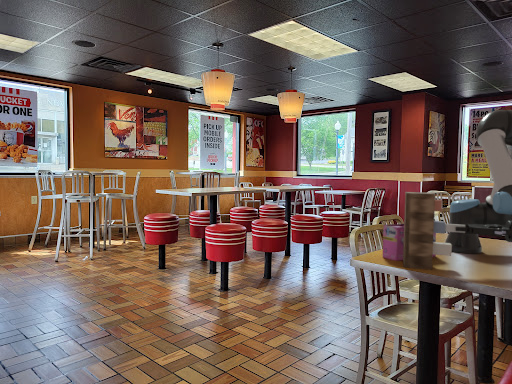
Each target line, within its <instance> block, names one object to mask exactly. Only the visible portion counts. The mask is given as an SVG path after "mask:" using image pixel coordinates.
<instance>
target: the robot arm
mask: <svg viewBox="0 0 512 384" xmlns="http://www.w3.org/2000/svg"><path fill="white" fill-rule="evenodd" d="M475 138H476V141H477V144H478V146H480V147H481V148H482V150H483V153H484V156H485V159H486V162H487V165H488V168H489V171H490V174H491V178H492V180H493V187H492V190H491V194H489V195H488V196H486V198H485V201H484V202H481V201H480V200H479V199H478V198H477V199H474V198H473V199H472V198H471V199H470V198H469V199H468V198H467V199H458V200H453V201H452V202H451V203H450V207H449V222H448V223H445V233H447V232H448V234H447V237H446V239H445V242H444V243H450V244H451V245H452V251H451V252H454V253H460V254H461V253H462V254H481V253H482V249H483V246H482V244H481V241H480V238H479V236H489V237H491V236H492V237H497V238H502V237H503V236H504V238H505V240H506V242H508V243H512V109H498V110H497V109H496V110H494V111H491V112H489V113H487V114H486V115H485V116H484V117H482V119H481V120H480V121H479V123H478V124H477V127H476V131H475Z"/></svg>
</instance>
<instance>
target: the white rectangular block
mask: <svg viewBox="0 0 512 384" xmlns="http://www.w3.org/2000/svg"><path fill="white" fill-rule="evenodd" d="M452 252H453V251H452V245H451V244H450V243H445V242H441V241H440V242H437V241H436V242H433V255H435V256H448V257H451V256H452Z"/></svg>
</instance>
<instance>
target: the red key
mask: <svg viewBox="0 0 512 384" xmlns="http://www.w3.org/2000/svg"><path fill="white" fill-rule="evenodd" d="M442 207H443V200H442V199H435V209H434V212H442V209H443V208H442Z"/></svg>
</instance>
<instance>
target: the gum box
mask: <svg viewBox="0 0 512 384" xmlns="http://www.w3.org/2000/svg"><path fill="white" fill-rule="evenodd" d="M382 233H383V234H382V235H383V237H382V238H383V239H382V240H383V241H382V258H384V259H388V260H392V261H396V262H397V261H403V243H404V223H393V224H383V232H382ZM436 240H437V233H433V242H437V241H436ZM434 257H436V255H433V257H432V258H434Z"/></svg>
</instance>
